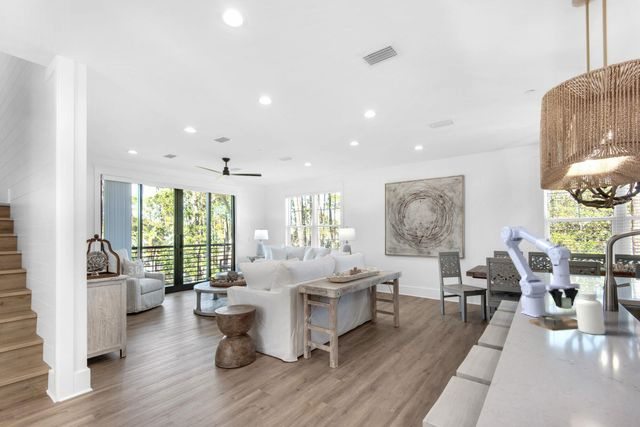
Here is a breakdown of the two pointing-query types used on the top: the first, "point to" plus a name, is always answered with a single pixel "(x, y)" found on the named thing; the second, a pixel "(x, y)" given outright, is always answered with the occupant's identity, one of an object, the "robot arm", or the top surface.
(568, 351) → the top surface
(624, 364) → the top surface
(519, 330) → the top surface
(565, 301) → the cap
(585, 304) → the pill bottle
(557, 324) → the stud board
